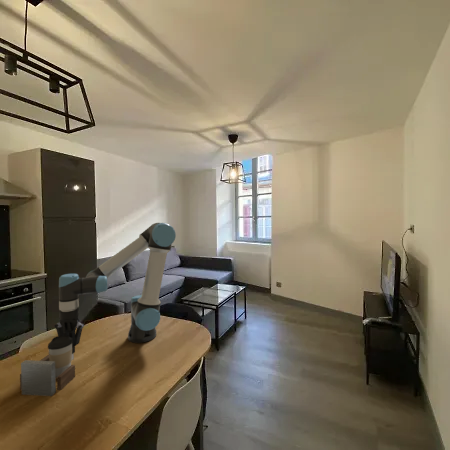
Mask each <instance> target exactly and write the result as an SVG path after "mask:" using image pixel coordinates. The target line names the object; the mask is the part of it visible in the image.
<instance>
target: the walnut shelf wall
mask: <svg viewBox="0 0 450 450" xmlns="http://www.w3.org/2000/svg"><path fill="white" fill-rule="evenodd" d="M39 361H49V354H47V355H46V356H44V357H43V358H42V359H40V360H39ZM74 378H76V365H75V364H71V366H70V367H68V368H67V369H66V370H65V371H64V372H63V373H61V374H60V375H59V376H58V377H57V378H56V382H57V383H56V384H57V388H56V389H57V391H62V390H63V389H64V388H65V387H66V386H67V385H68V384H69V383H70V382H71V381H73V379H74ZM19 388H20V390H21V391H22V382H21V373H20V374H19Z"/></svg>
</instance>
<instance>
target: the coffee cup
mask: <svg viewBox="0 0 450 450" xmlns="http://www.w3.org/2000/svg"><path fill="white" fill-rule="evenodd" d="M72 343H73V340H72V338H71V337H69V336H58V335H57V336H55V337H53V338H52V339H51V340H50V341H49V343H48V345H47V349H48V355H49V361H55V379H57V377H58V376H59V375H60V374H61V373H63V372H64V371H65V370H66V369H67V368H68V367H70V366H71V365H72V361H73V360H72Z"/></svg>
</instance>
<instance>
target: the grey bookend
mask: <svg viewBox="0 0 450 450" xmlns="http://www.w3.org/2000/svg"><path fill="white" fill-rule="evenodd" d="M20 374H21V382H22V390H21V395H25V396H26V395H27V396H39V397H40V396H42V397H53V396H54V395H55V393H56V392H57V391H56V389H57V388H56V384H57V383H56V382H57V380H56V378H55V361H40V360H31V359H30V360H29V359H28V360H27V359H26V360H24V361H22V362H20Z"/></svg>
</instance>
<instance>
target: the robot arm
mask: <svg viewBox="0 0 450 450" xmlns="http://www.w3.org/2000/svg"><path fill="white" fill-rule="evenodd" d="M176 235H177V234H176V230H175V229H174V227H173V226H172V225H171V224H169V223H166V222H155V223H153V224H151V225H150V226H149V227H147V228H146V229H145V230H144V231H143V232H141V233H140V234H139V236H138V237H137V238H136V239H135V240H133V241H132V242H131V243H129V244H128V245H126V246H125V247H123V248H122V249H121V250H119V251H118V252H116V253H115V254H114V255H113V256H111V257H110V258H108V259H107V260H105V261H104V262H103V263H102V264H101V265H99V266H98V267H96V268H95V269H93V270H91V271H89V272H88V273H87V274H86V276H85V277H80V276H79V274H78V273H65V274H62V275H60V276H59V279H58V310H59V314H58V315H59V322H57V323H56V324H54V328H55V330H56V333H57V336H69V337H71V338H72V340H73V343H72V361H74V355H75V352H76V346H77V345H79V344H80V341H81V336H82V332H83V328H84V326H85V323H81V322H80V319H79V316H80V308H79V307H80V302H79V301H80V297H79V295H91V294H100V293H105V292H107V290H108V278H110V277H111V276H112V275H114V274H116V272H117V271H119V270H120V269H122V268H123V267H124V266H126V265H127V264H129V262H131V261H132V260H134V259H135V258H136V257H138V256H139V255H140V254H142V253H144V252H145V250H147V249H149V256H148V260H147V266H146V270H145V277H144V282H143V287H142V291H141V292H142V293H141V294H140V295H139V294H138V295H135V296H133V297H131V299H130V312H131V313H130V319H131V320H130V327H129V331H128V333H127V339H128V341H129V342H131V343H133V344H134V343H135V344H141V343H142V344H143V343H146V342H149V341H152V340H153V339H155V338H156V337H157V329H156V327H157V326H158V325H159V324H160V321H161V313H160V308H161V303H162V302H161V300H160V299H159V298H160V293H161V286H162V283H163V282H162V281H163V276H164V272H165V267H166V266H165V265H166V261H167V255H168V253H169V252H170V251H171V250H172V245H173V243H174V242H175V240H176Z"/></svg>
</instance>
